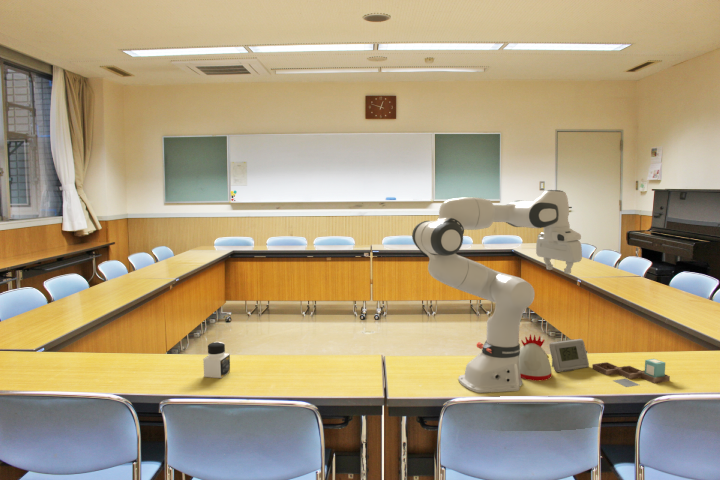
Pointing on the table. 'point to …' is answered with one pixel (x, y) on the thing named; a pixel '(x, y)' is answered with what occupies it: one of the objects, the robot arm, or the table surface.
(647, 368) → the teal rectangular block
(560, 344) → the digital clock
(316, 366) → the table surface
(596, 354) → the table surface
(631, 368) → the box
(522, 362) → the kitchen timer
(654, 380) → the box
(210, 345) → the medicine bottle
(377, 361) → the table surface
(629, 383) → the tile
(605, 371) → the box
